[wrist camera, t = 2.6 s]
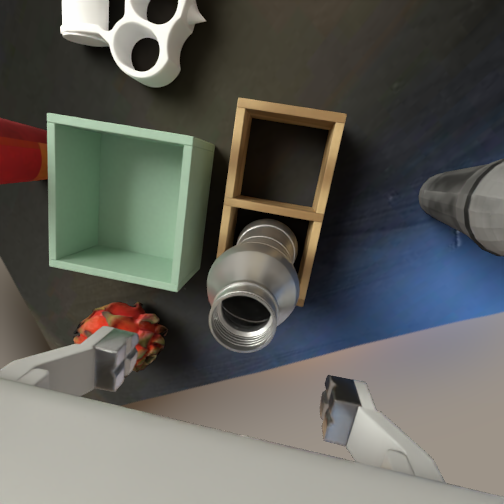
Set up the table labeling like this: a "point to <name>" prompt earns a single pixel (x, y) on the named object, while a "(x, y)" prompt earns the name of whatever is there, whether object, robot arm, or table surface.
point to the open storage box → (126, 201)
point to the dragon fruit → (127, 329)
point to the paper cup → (22, 153)
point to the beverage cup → (470, 203)
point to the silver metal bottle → (253, 286)
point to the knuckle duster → (131, 34)
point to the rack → (235, 200)
